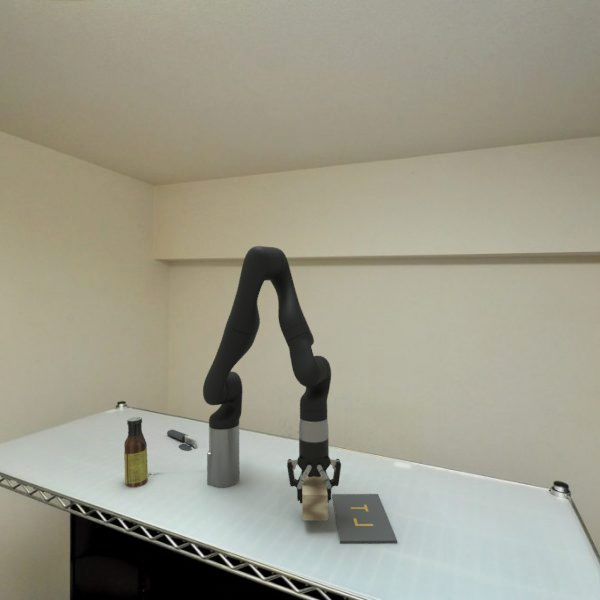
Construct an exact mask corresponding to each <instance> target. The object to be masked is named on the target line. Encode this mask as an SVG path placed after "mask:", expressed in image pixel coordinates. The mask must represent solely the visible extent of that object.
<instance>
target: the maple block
mask: <svg viewBox="0 0 600 600" xmlns="http://www.w3.org/2000/svg"><path fill="white" fill-rule="evenodd" d="M301 504H302V509H301V510H302V512H301V513H302V521H328V520H329V519H328V518H329V516H328V515H329V511H328V507H329V505H328V504H329V503H328V494H327V487H326V484H325V482H324V481H323V479H322V477H321V476H320V477H315V476H313V477H308V476H307V478H306V480H305V482H304V484H303V485H302V503H301Z"/></svg>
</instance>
